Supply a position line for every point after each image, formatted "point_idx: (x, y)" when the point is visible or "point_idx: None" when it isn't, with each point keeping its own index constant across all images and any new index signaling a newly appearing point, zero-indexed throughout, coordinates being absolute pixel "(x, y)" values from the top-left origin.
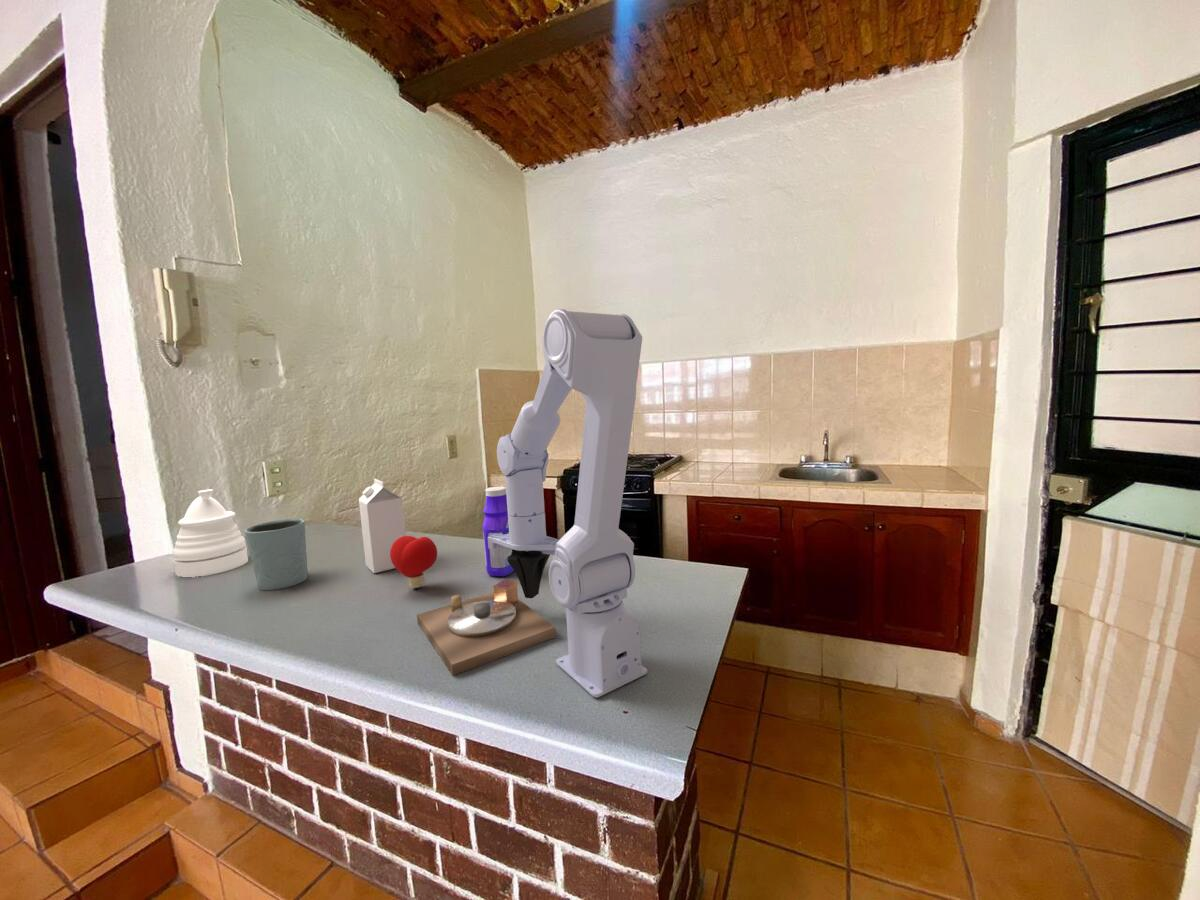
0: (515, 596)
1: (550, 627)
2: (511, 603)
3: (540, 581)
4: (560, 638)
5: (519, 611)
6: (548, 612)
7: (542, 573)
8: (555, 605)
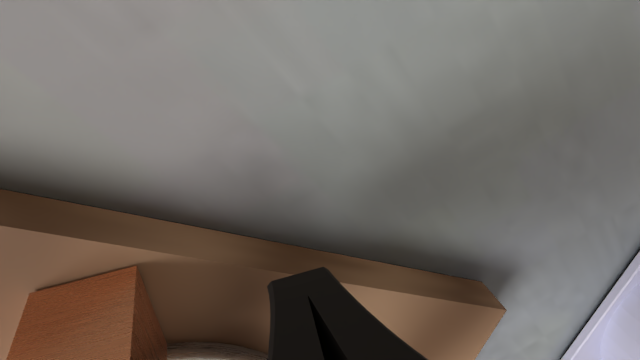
0: (143, 313)
1: (490, 322)
2: (158, 329)
3: (368, 311)
4: (501, 275)
5: (256, 324)
6: (320, 151)
7: (415, 350)
8: (298, 59)
